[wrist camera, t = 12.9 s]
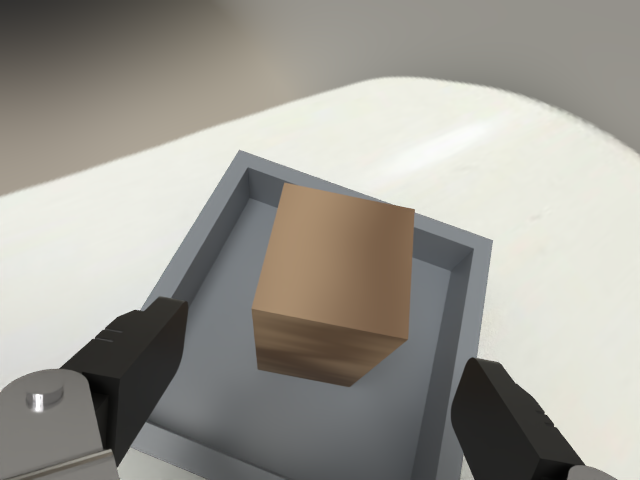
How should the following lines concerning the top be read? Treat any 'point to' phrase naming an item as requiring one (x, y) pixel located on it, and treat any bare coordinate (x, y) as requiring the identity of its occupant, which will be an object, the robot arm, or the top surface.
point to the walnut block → (333, 286)
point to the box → (303, 394)
